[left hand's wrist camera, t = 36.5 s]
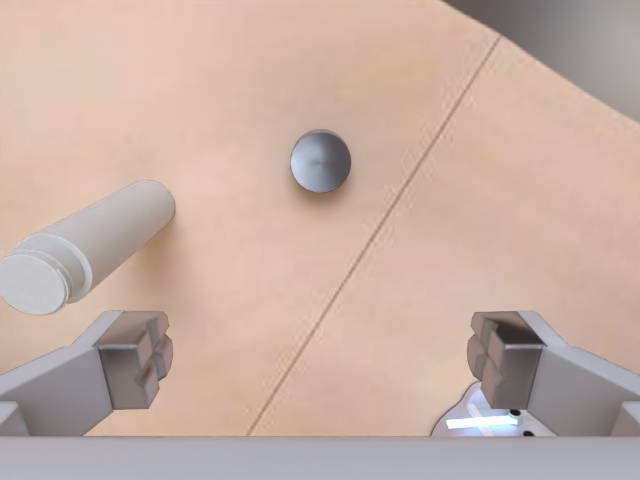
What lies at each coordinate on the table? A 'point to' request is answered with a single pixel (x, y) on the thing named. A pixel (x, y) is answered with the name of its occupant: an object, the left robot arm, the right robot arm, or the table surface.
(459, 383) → the table surface
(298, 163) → the lid
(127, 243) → the white plastic cylinder
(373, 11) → the table surface
